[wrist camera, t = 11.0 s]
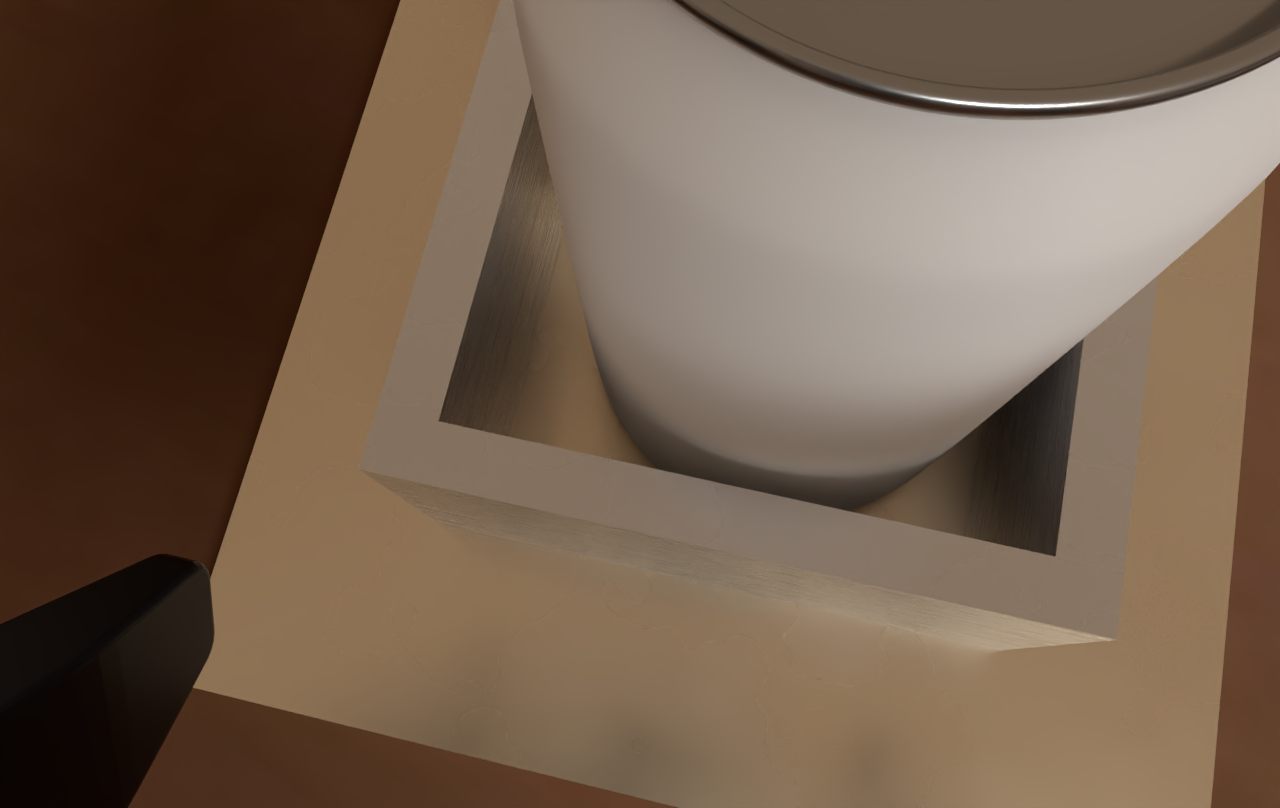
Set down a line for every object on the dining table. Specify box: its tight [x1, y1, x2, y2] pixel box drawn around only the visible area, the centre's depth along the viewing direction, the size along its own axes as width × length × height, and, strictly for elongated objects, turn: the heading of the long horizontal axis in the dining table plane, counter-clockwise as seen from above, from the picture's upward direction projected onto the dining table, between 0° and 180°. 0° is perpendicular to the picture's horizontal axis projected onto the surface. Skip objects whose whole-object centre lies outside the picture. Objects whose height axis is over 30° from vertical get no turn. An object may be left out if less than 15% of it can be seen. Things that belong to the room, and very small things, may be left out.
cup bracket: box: [193, 0, 1265, 808], centre depth 12 cm, size 16×16×13 cm
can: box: [513, 0, 1280, 511], centre depth 12 cm, size 6×6×12 cm
